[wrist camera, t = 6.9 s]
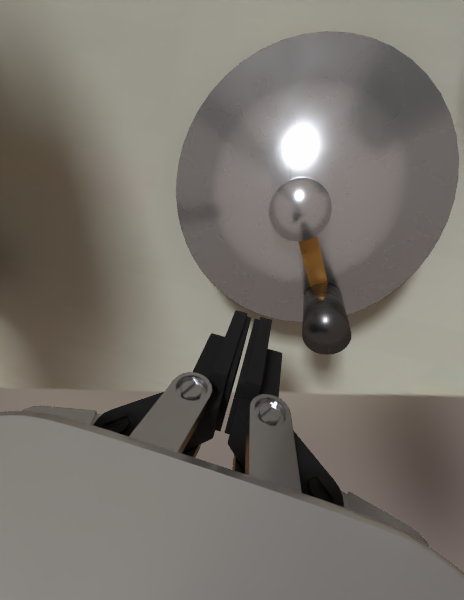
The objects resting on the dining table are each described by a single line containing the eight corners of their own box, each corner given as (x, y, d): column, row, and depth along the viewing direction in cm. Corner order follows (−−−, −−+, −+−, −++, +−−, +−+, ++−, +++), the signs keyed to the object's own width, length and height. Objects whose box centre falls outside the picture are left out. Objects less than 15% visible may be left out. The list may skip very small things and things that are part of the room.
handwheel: (451, 285, 16) (511, 339, 11) (230, 326, 21) (207, 375, 16) (433, -29, 11) (527, -167, 6) (148, 121, 16) (81, 105, 11)
